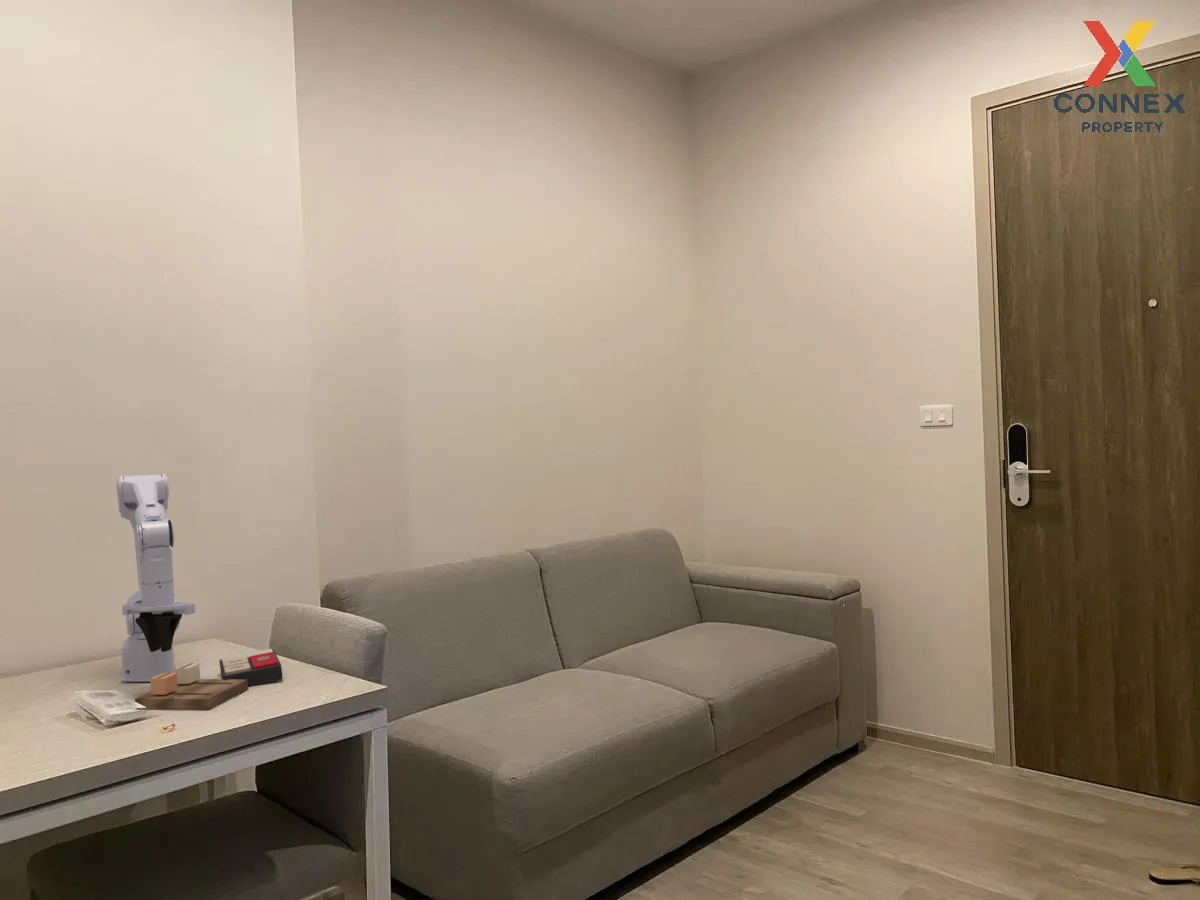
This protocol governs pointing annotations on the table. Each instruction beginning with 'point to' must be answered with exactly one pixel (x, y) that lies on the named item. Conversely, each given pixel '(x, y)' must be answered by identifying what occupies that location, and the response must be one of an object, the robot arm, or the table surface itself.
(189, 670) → the ivory fader
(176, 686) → the terracotta fader
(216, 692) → the mixer panel
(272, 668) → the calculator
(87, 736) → the table surface
